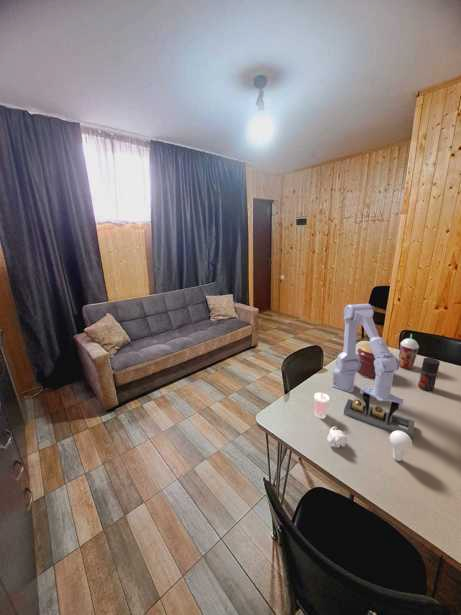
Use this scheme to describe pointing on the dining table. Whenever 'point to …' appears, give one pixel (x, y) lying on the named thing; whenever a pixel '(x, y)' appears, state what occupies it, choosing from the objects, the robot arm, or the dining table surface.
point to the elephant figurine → (337, 437)
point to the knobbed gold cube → (378, 412)
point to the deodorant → (428, 374)
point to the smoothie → (408, 353)
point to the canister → (366, 361)
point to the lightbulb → (400, 444)
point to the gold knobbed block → (358, 406)
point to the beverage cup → (321, 404)
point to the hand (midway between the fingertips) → (378, 413)
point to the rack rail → (380, 423)
